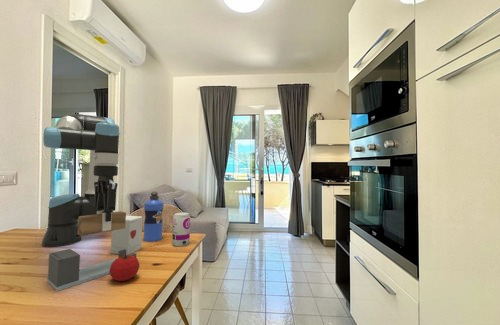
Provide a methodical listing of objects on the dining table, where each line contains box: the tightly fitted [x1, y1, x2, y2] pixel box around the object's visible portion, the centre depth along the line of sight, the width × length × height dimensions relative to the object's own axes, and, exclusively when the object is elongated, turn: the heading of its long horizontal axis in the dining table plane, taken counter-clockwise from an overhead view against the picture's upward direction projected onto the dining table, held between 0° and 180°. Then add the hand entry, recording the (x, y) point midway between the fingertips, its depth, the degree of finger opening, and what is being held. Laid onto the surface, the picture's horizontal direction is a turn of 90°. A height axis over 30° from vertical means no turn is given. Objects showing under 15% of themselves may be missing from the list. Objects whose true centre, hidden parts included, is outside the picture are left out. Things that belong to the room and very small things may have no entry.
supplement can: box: [171, 211, 191, 247], centre depth 112 cm, size 8×8×15 cm
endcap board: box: [46, 248, 137, 292], centre depth 80 cm, size 10×24×9 cm, turn 145°
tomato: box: [109, 254, 140, 282], centre depth 76 cm, size 9×9×8 cm
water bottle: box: [142, 191, 164, 243], centre depth 119 cm, size 9×9×25 cm
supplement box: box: [110, 215, 143, 255], centre depth 101 cm, size 9×9×15 cm
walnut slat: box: [78, 211, 127, 237], centre depth 82 cm, size 4×14×6 cm, turn 146°
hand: (103, 229), depth 82 cm, fingers closed on walnut slat, 4 cm apart
